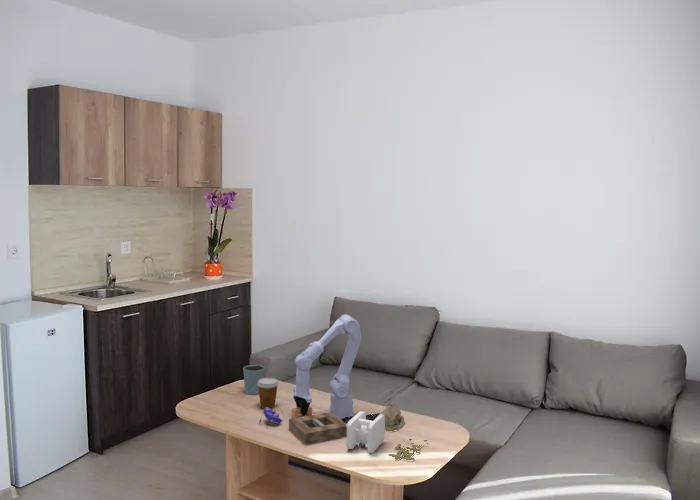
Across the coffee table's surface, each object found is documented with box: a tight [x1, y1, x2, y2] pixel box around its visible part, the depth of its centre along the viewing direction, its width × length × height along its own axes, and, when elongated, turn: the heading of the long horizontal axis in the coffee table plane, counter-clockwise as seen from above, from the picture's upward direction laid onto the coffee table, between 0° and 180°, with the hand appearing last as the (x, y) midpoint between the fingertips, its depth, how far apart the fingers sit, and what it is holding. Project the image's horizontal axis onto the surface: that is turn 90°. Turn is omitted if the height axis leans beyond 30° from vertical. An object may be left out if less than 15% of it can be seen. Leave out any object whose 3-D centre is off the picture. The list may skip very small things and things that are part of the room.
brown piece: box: [288, 411, 347, 446], centre depth 248 cm, size 19×16×4 cm
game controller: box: [259, 404, 285, 429], centre depth 257 cm, size 10×8×10 cm
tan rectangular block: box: [291, 405, 313, 419], centre depth 261 cm, size 8×3×5 cm, turn 119°
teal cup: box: [242, 364, 266, 396], centre depth 293 cm, size 10×10×12 cm
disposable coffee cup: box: [257, 377, 279, 410], centre depth 275 cm, size 10×10×12 cm
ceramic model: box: [375, 402, 405, 432], centre depth 257 cm, size 14×11×10 cm
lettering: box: [388, 443, 423, 461], centre depth 236 cm, size 25×10×1 cm, turn 153°
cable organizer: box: [345, 411, 386, 454], centre depth 236 cm, size 15×11×12 cm
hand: (302, 413), depth 261 cm, fingers closed on tan rectangular block, 3 cm apart
